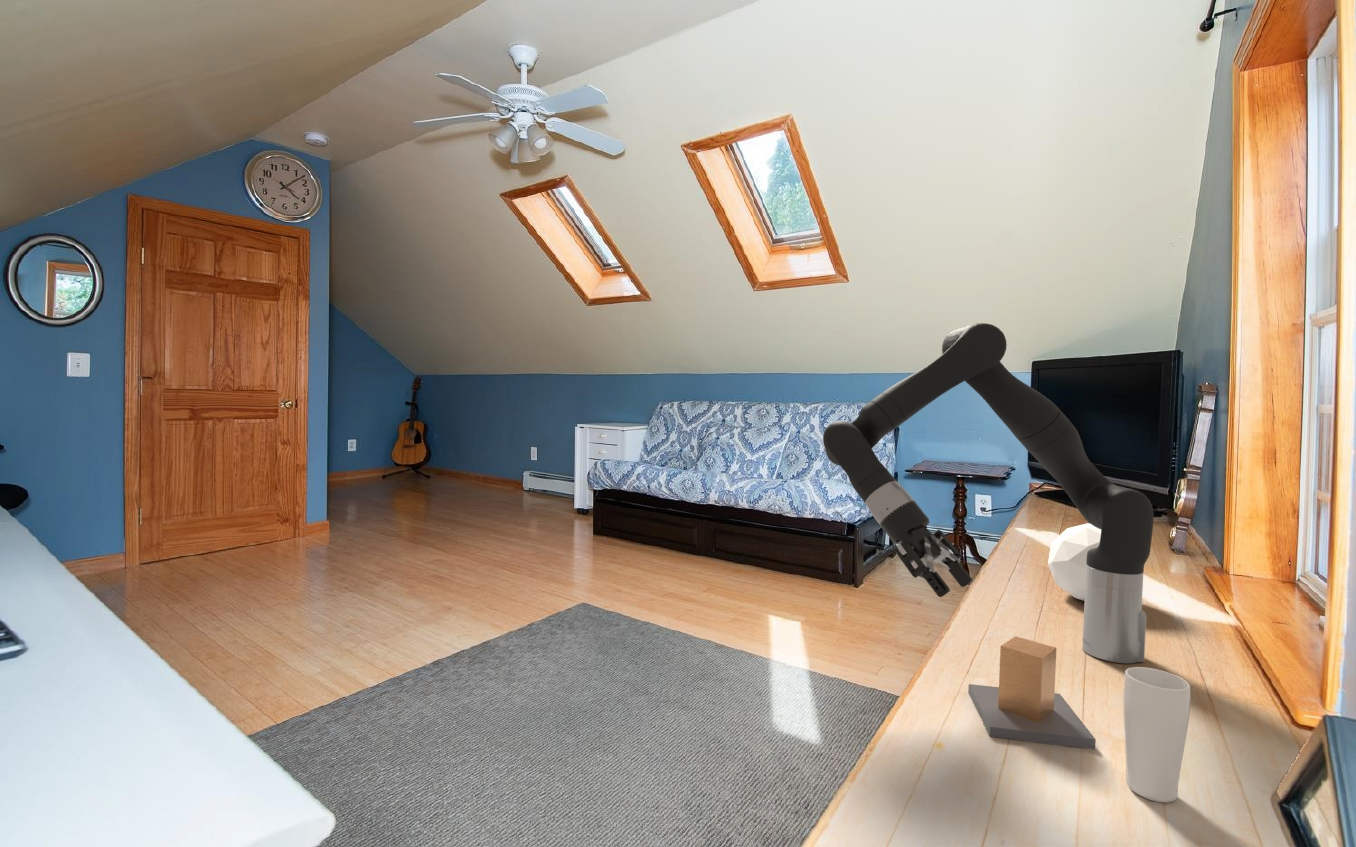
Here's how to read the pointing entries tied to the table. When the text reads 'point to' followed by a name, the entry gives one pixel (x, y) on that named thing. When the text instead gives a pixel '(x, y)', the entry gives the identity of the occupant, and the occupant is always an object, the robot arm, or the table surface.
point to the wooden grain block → (1027, 678)
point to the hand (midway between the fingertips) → (957, 589)
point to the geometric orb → (1073, 557)
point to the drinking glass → (1155, 731)
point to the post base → (1052, 730)
